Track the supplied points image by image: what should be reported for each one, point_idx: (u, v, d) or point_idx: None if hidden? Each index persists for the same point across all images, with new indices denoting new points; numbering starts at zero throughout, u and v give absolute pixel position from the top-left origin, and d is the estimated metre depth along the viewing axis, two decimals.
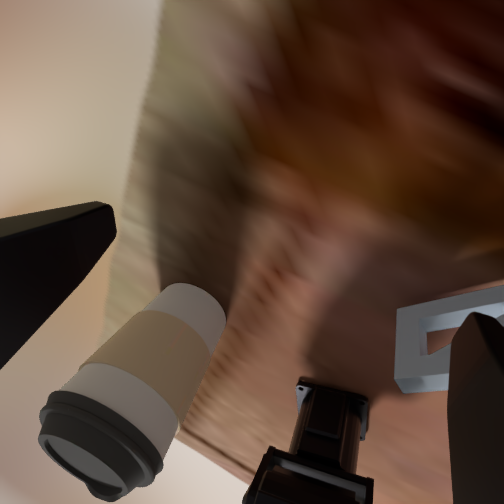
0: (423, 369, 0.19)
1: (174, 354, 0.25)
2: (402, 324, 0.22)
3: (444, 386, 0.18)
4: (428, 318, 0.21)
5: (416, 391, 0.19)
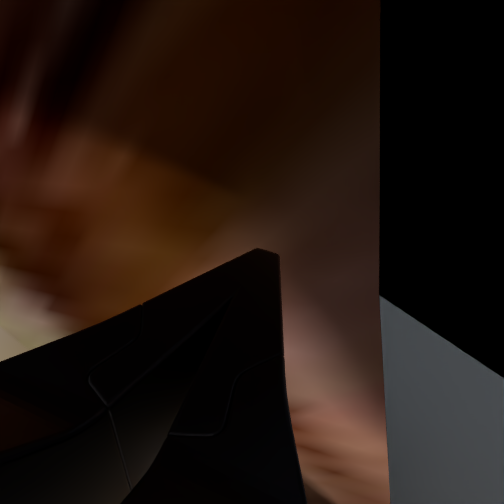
0: None
1: None
2: None
3: None
4: None
5: None
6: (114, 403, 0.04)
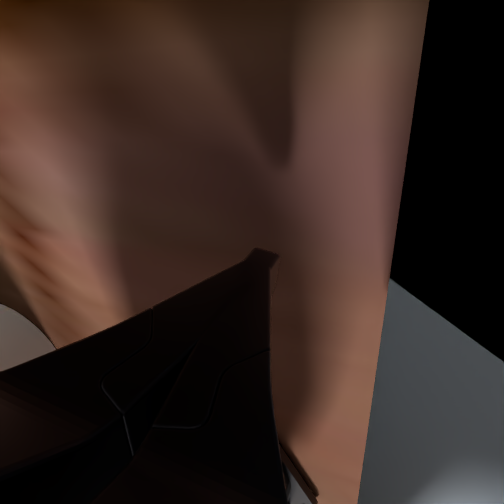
0: None
1: None
2: None
3: None
4: None
5: None
6: (128, 409, 0.04)
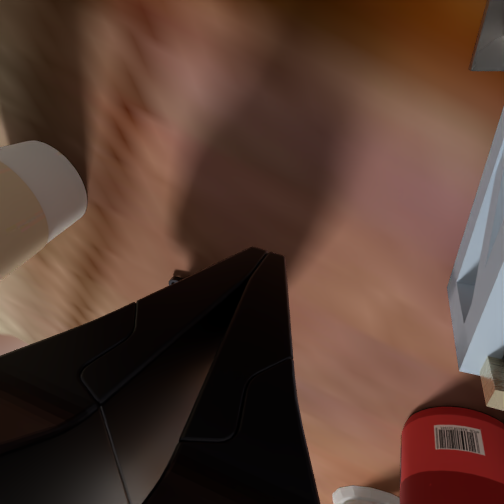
0: (470, 337, 0.14)
1: None
2: (451, 300, 0.18)
3: (502, 338, 0.13)
4: (462, 274, 0.17)
5: None
6: (106, 399, 0.04)
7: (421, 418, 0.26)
